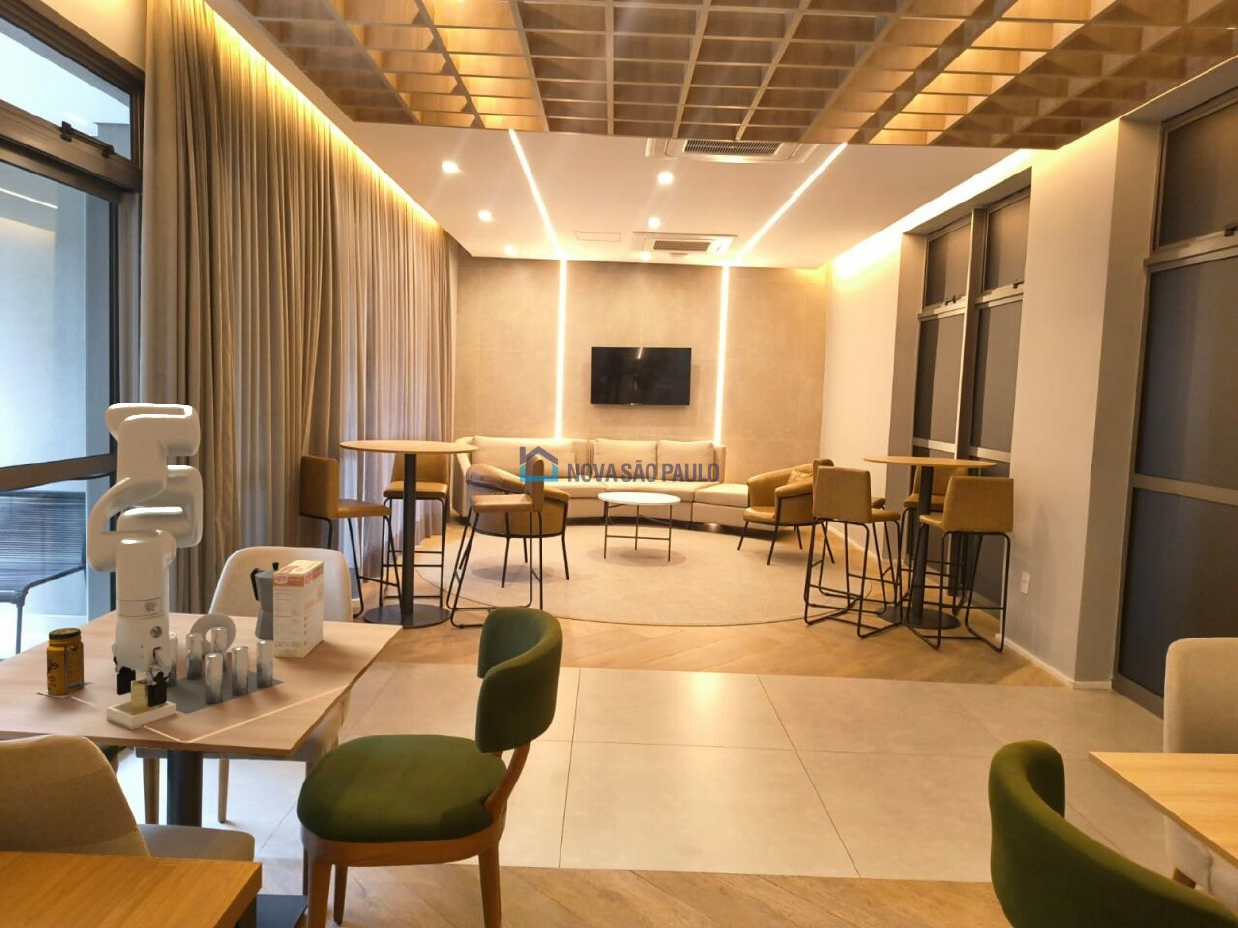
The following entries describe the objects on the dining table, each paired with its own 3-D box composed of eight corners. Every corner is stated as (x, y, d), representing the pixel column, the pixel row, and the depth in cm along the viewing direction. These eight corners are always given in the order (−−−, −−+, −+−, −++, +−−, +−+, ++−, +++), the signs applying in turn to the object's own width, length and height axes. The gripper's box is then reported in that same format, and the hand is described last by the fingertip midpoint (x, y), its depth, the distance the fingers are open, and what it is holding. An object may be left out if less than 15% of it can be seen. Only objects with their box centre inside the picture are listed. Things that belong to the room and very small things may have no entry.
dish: (106, 719, 148) (106, 707, 148) (151, 705, 155) (150, 694, 154) (131, 729, 144) (131, 717, 144) (176, 715, 151) (176, 703, 150)
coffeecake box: (295, 638, 199) (295, 559, 198) (324, 639, 200) (325, 560, 198) (271, 658, 184) (271, 572, 183) (303, 659, 185) (303, 573, 183)
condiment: (36, 693, 159) (35, 632, 158) (79, 679, 167) (78, 622, 166) (62, 699, 156) (61, 637, 155) (104, 685, 164) (103, 627, 163)
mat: (131, 694, 160) (131, 692, 160) (229, 666, 178) (229, 664, 178) (186, 715, 151) (186, 713, 151) (284, 683, 169) (284, 681, 169)
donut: (192, 662, 179) (192, 618, 178) (186, 659, 182) (186, 614, 181) (238, 653, 187) (238, 610, 186) (232, 650, 189) (232, 607, 188)
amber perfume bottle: (124, 714, 149) (124, 682, 148) (152, 706, 153) (151, 674, 153) (138, 720, 147) (137, 687, 146) (165, 711, 151) (165, 679, 150)
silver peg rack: (156, 685, 164) (156, 641, 163) (221, 667, 176) (221, 626, 175) (211, 705, 155) (211, 658, 154) (275, 684, 167) (276, 641, 166)
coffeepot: (309, 634, 203) (309, 562, 202) (277, 643, 195) (277, 568, 194) (267, 623, 211) (267, 554, 209) (234, 632, 202) (234, 560, 201)
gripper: (189, 609, 146) (189, 702, 148) (134, 594, 155) (135, 683, 157) (147, 618, 140) (148, 716, 141) (92, 602, 149) (94, 694, 150)
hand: (141, 698), depth 149 cm, fingers open, 9 cm apart
